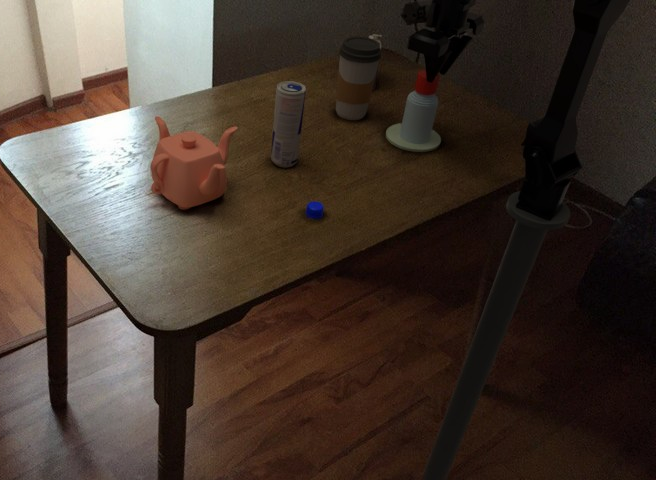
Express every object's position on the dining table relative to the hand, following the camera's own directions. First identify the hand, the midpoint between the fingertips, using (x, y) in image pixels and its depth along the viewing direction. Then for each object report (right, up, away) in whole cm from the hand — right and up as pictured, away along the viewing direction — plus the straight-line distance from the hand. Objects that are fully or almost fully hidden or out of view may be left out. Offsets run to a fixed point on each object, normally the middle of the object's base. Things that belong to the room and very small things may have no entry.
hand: (435, 77), depth 132 cm
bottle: (-2, -9, +9) cm, 13 cm away
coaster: (-2, -9, +9) cm, 13 cm away
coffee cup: (-14, -3, +16) cm, 21 cm away
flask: (-8, +8, +29) cm, 31 cm away
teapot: (-44, -23, -10) cm, 51 cm away
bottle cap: (-24, -27, -13) cm, 39 cm away
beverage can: (-29, -16, -1) cm, 33 cm away
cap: (-1, -2, +2) cm, 3 cm away
